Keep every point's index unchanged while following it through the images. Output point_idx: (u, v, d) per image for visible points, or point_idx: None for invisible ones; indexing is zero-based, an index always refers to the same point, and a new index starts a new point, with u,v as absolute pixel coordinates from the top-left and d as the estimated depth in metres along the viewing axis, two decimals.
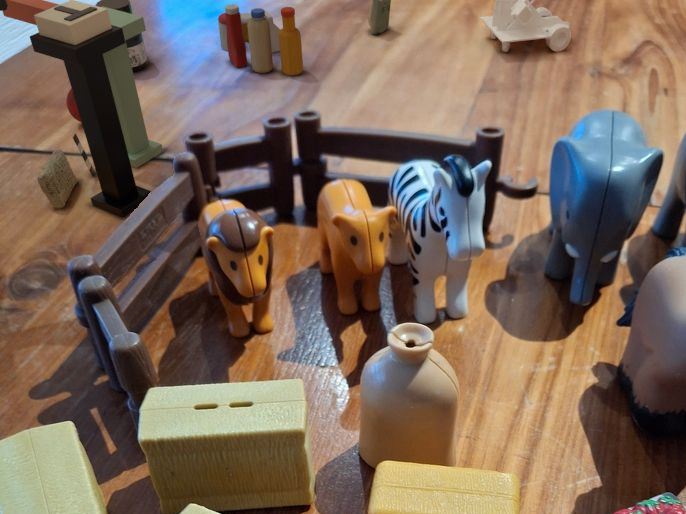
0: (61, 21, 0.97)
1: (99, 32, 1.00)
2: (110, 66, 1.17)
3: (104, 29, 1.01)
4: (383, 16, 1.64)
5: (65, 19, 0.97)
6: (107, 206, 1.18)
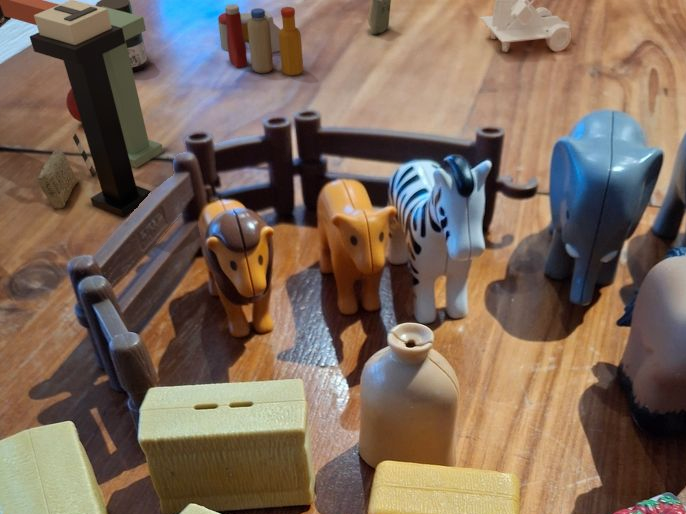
0: (61, 21, 0.97)
1: (99, 32, 1.00)
2: (110, 66, 1.17)
3: (104, 29, 1.01)
4: (383, 16, 1.64)
5: (65, 19, 0.97)
6: (107, 206, 1.18)
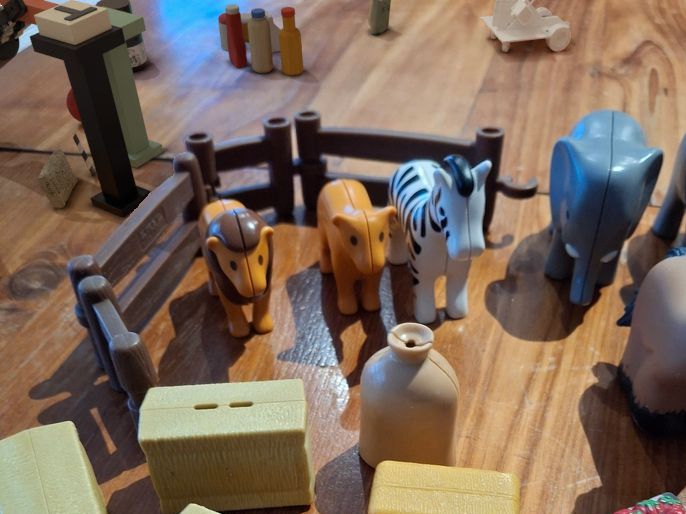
0: (61, 21, 0.97)
1: (99, 32, 1.00)
2: (110, 66, 1.17)
3: (104, 29, 1.01)
4: (383, 16, 1.64)
5: (65, 19, 0.97)
6: (107, 206, 1.18)
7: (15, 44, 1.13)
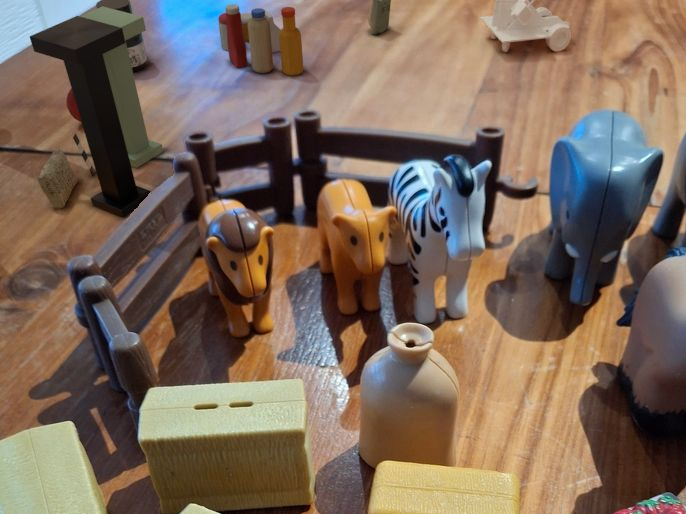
0: None
1: None
2: (110, 66, 1.17)
3: None
4: (383, 16, 1.64)
5: None
6: (107, 206, 1.18)
7: None
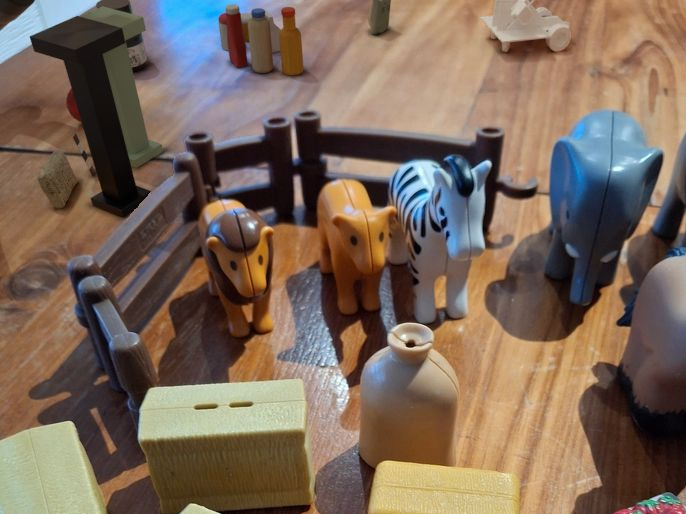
0: None
1: None
2: (110, 66, 1.17)
3: None
4: (383, 16, 1.64)
5: None
6: (107, 206, 1.18)
7: None
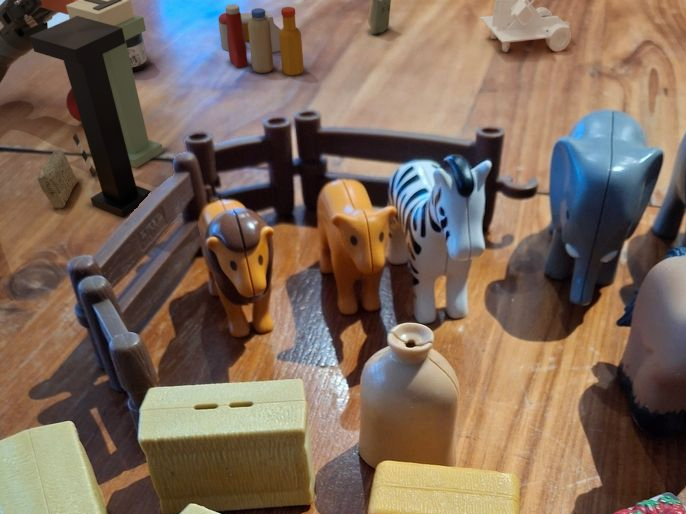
0: (90, 10, 1.10)
1: (123, 20, 1.14)
2: (110, 66, 1.17)
3: (127, 18, 1.14)
4: (383, 16, 1.64)
5: (94, 8, 1.10)
6: (107, 206, 1.18)
7: (44, 28, 1.25)
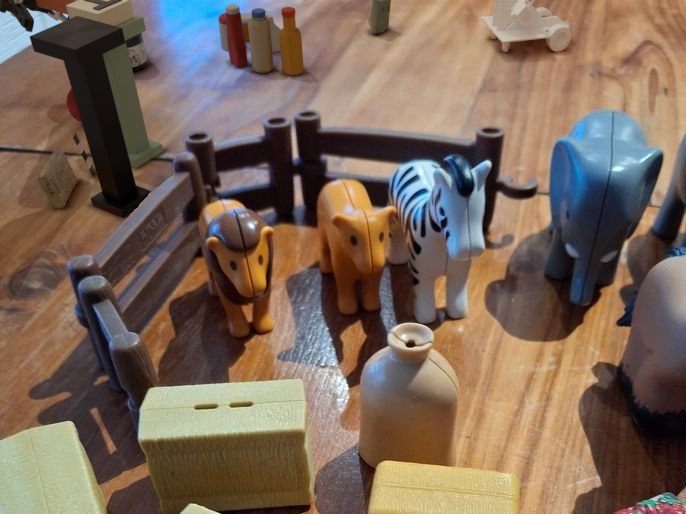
0: (90, 10, 1.10)
1: (123, 20, 1.14)
2: (110, 66, 1.17)
3: (127, 18, 1.14)
4: (383, 16, 1.64)
5: (94, 8, 1.10)
6: (107, 206, 1.18)
7: None
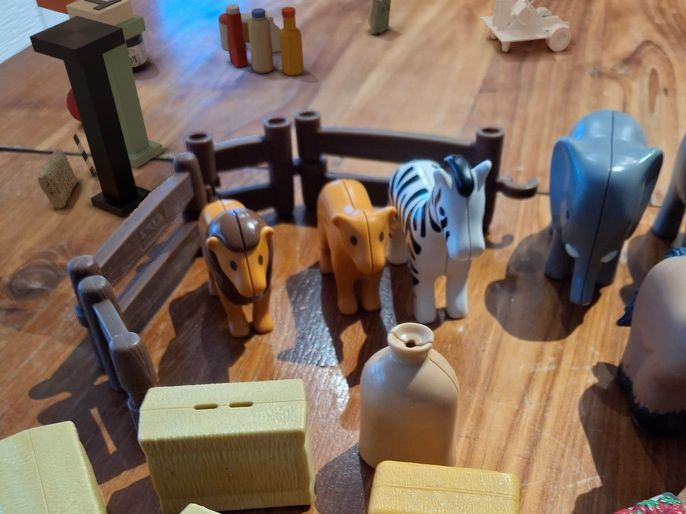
0: (90, 10, 1.10)
1: (123, 20, 1.14)
2: (110, 66, 1.17)
3: (127, 18, 1.14)
4: (383, 16, 1.64)
5: (94, 8, 1.10)
6: (107, 206, 1.18)
7: None
